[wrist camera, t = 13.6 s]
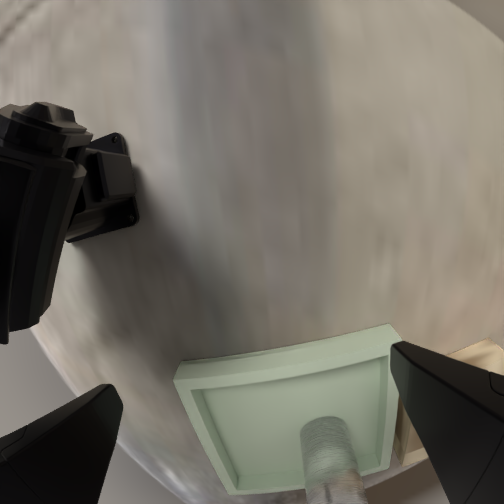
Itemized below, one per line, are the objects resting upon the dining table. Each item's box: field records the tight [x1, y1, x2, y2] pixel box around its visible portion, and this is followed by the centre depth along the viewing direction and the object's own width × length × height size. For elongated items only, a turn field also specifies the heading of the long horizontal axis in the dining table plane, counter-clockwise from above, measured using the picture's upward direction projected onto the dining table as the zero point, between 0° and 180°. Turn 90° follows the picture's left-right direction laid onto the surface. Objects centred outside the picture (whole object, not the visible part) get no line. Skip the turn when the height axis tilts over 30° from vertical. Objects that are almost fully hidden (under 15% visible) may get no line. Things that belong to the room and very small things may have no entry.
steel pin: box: [300, 416, 368, 504], centre depth 16 cm, size 4×4×13 cm
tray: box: [173, 323, 402, 495], centre depth 22 cm, size 16×16×2 cm
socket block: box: [393, 338, 504, 467], centre depth 21 cm, size 10×10×4 cm
